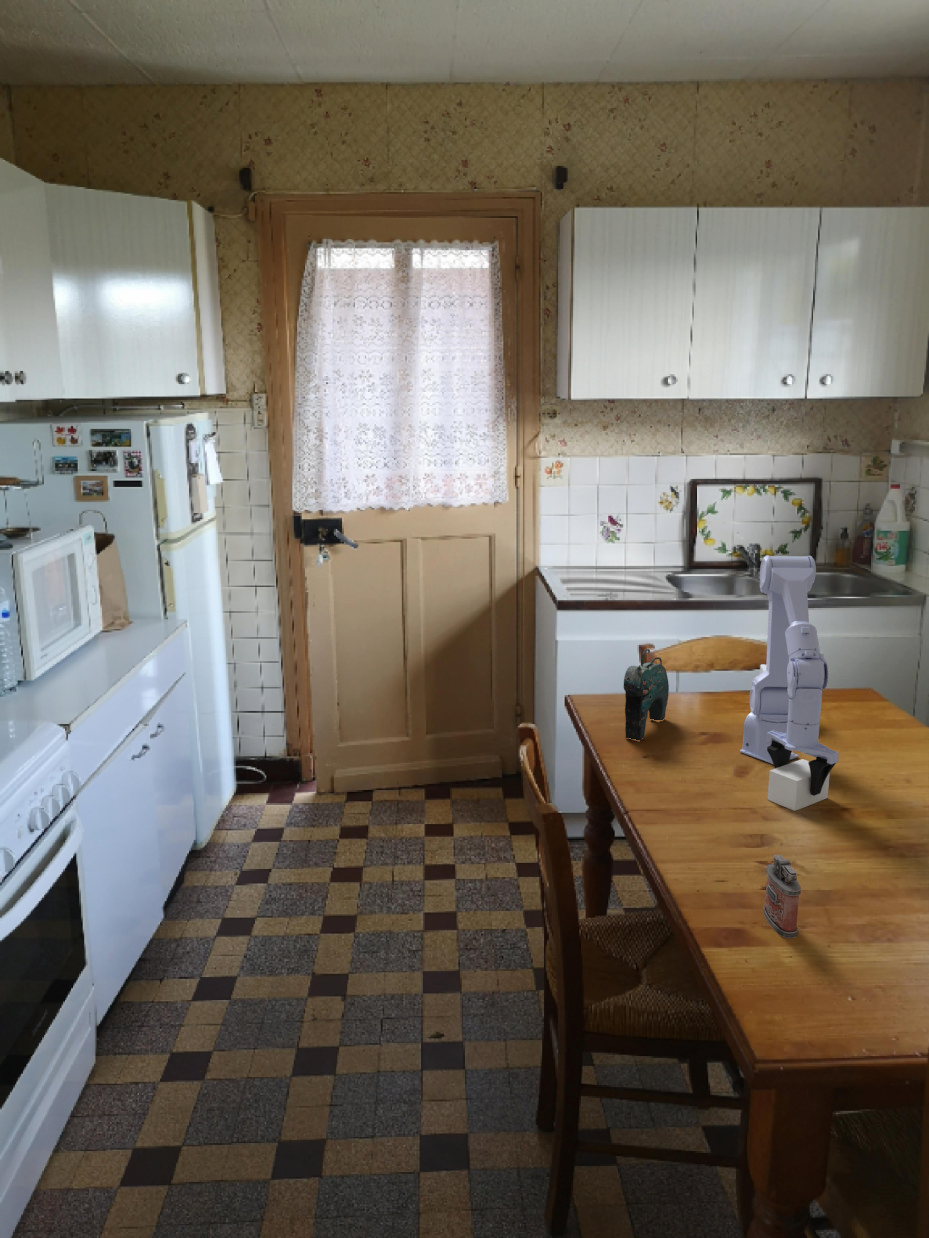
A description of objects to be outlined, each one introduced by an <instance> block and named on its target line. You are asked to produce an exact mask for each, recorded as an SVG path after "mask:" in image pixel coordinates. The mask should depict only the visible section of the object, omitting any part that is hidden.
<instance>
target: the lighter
mask: <svg viewBox="0 0 929 1238" xmlns="http://www.w3.org/2000/svg"><path fill="white" fill-rule="evenodd" d="M765 867H766V868H765V869H766V871H765V872H766V885H765V886H766V888H765V900H764V905H763V907H762V908H763V910H762V911H763V912H762V913H763V915H764V918H765V920H766V921H767V923H768V924H769V926H770V927H771V928H772V929H773V931H775V932H776V933H777V934H778V935H779V936H780V937H782V938H785V939H794V938H797V936H798V932H799V929H798V926H797V925H798V924H797V923H798V915H799V914H798V912H799V900H800V899H799V898H800V895H801V892H802V888H801V884H800V883H799V881H798V880H797V879H798V873H797V872H796V870H794V868H793V867H792V866H791V862H790V859H789V858H784V857H783V855H781V854H774V855H773V863H770V864H768V865H766V866H765Z"/></svg>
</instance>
